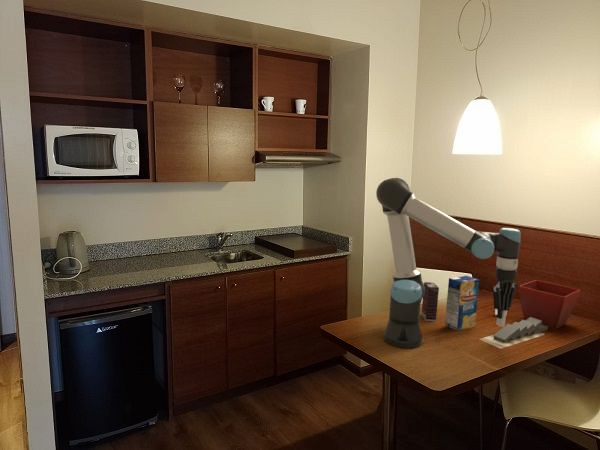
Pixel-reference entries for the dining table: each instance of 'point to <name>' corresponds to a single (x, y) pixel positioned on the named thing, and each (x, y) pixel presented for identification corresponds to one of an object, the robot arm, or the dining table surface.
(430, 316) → the supplement box
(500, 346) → the board
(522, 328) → the domino
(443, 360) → the dining table surface
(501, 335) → the domino
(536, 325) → the domino
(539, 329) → the domino
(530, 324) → the domino
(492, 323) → the dining table surface
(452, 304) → the beverage box
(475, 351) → the dining table surface
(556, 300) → the plant pot
